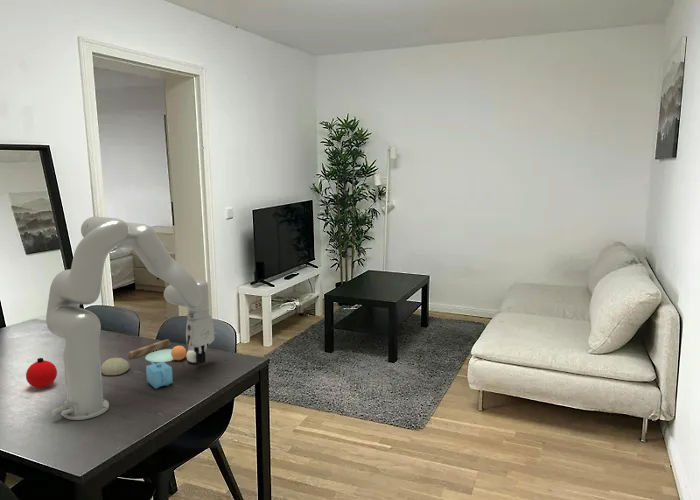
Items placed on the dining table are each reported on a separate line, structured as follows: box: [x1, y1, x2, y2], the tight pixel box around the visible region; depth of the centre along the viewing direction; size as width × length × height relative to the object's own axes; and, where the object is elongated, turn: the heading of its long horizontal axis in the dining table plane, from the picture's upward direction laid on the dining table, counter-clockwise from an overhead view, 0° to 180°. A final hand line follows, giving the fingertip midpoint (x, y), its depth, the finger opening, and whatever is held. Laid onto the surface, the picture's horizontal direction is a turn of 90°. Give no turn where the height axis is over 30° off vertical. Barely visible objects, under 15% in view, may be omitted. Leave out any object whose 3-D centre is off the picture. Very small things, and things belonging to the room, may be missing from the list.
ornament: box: [25, 357, 58, 389], centre depth 177 cm, size 9×9×10 cm
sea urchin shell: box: [100, 357, 130, 376], centre depth 190 cm, size 9×8×8 cm
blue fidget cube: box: [145, 361, 174, 390], centre depth 180 cm, size 12×6×8 cm, turn 41°
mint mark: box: [144, 348, 176, 363], centre depth 207 cm, size 14×14×1 cm
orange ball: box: [171, 345, 187, 361], centre depth 202 cm, size 6×6×6 cm
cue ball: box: [185, 349, 197, 363], centre depth 199 cm, size 6×6×6 cm
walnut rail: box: [127, 338, 171, 360], centre depth 211 cm, size 18×2×2 cm, turn 149°
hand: (200, 362), depth 196 cm, fingers closed
